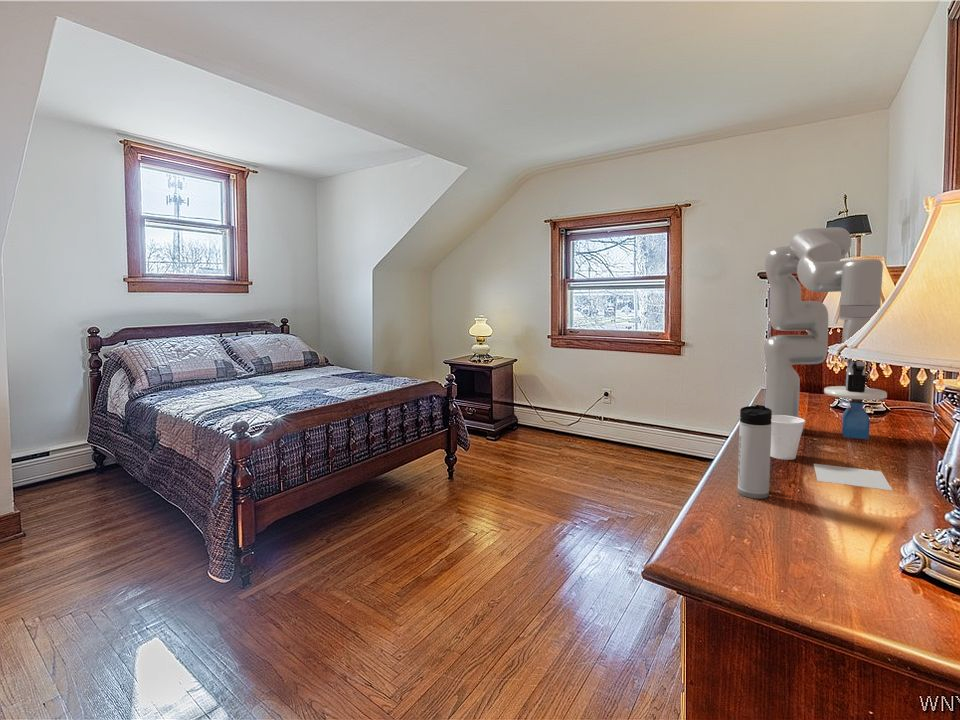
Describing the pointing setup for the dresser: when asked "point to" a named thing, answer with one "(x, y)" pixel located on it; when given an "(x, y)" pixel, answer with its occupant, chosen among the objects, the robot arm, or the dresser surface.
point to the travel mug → (754, 451)
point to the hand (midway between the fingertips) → (854, 389)
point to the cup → (785, 436)
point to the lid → (844, 393)
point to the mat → (851, 476)
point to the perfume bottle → (856, 421)
